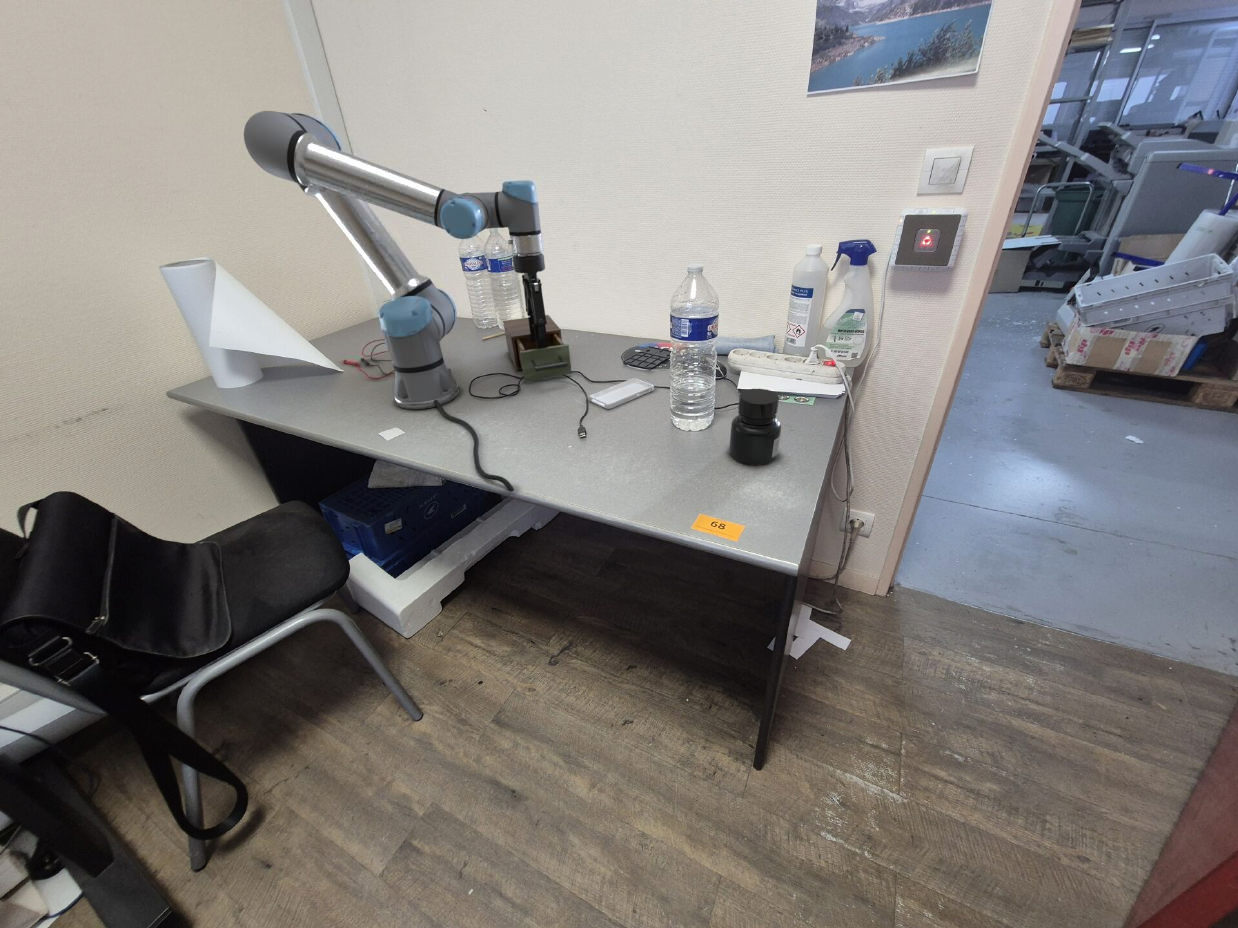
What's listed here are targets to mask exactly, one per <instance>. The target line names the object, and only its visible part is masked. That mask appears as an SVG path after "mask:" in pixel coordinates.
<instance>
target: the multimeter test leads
mask: <svg viewBox="0 0 1238 928" xmlns="http://www.w3.org/2000/svg"><path fill="white" fill-rule="evenodd" d="M381 341H385V338H382V339H376V340H373V341H370V342H368V343H367V344H365V346H364V347H363V348H362V351H361V355H362V356H363V357H367V358H368V357H369V358H370V359H371V361H373V362H392V360H391V359H377V360H376V359H373V356H378V355H380V354H385V353H389V350H388V351H387V350H385V351H381V352H377V353H374V354H373V352H374V351H375V349H376V348H377V347H379V346H380V345H385V344H386V342H381ZM375 342H381V343H378V344H376V345H375V346H374V347H373V348H372V350H371V353H370V355H365V354H364V350H365V349H366V347H368V346H369V345H370V344H372V343H375ZM363 357H360V361H361V362H363V364H365V366H367V367H378V368H379V370H380V372H381V373H382V374H383V376H380V377H372V376H370V375H368V374H367V373H366V371H364V370H362V369H360V366H361V365H360V364H359V362H356V361H355V362H354V361H350V360H347V359H343V360H339V361H340V362H343V363H344V364H349V365H353V366H356V367H358V370H359V371H360V372H362V373H363V374H364V375H366V377H368V378H369V379H371V380H380V379H383V378H385V377H387V376H390V375H395V370H394V369H393V370H392V371H390V372H388V373H385V372H384V371H383V370H382V368H381V367H380V365H379V364H370V362H368V361H367V360H366V359H365V358H363Z"/></svg>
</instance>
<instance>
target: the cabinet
mask: <svg viewBox="0 0 1238 928" xmlns="http://www.w3.org/2000/svg"><path fill="white" fill-rule="evenodd" d="M545 316H546V321H547V324H546V325H545V326H546V335H547V334H554V333H556V334H557V336H558V337H559V338H560V339H561V341H562V342H563V339H562V330H561V328H560V327H559V326H558V324H557V323H556V322H555V321H554V320H553V319H552V317H551V316H550V315H549V314H545ZM541 320H542V319H541ZM502 323H503V330H504V335H505V340H506V341H505V342H506V346H507V352H508V355H509V356H510V359H511V361H512V364H513V366H514V368H515V370H516V371H517V372H518V371H523V369H522V367H521V365H520V363H519V361H518V356H517V349H516V343H515V339H520V338H527V337H531V335H530V328H529V320H528V317H522V318H515V319H507V320H503V321H502Z"/></svg>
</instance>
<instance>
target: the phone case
mask: <svg viewBox="0 0 1238 928" xmlns="http://www.w3.org/2000/svg"><path fill="white" fill-rule="evenodd" d="M654 387H655V386H654V384H652V383H650V382H647V381H644V380H641V379H639V378H635V377H634V378H630V379H628V380H625V381H623V382H620V383H618V384H615V385H612V386H610V387H607V388H605V389H602V390H600V391H597V392H594V393H592V394H590V395H589V398H588V399H589V402H591V403H593V404H595V405H597V406H600V407H602V408H603V409H606V410H612V409H614V408H616V407H619V406H621V405H623V404H625V403H628V402H630V401H633V400H635V399H638V398H640V397H642V396H644V395H647V394H649V393H651V392H653V391H654V390H655V388H654Z"/></svg>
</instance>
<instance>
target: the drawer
mask: <svg viewBox="0 0 1238 928" xmlns="http://www.w3.org/2000/svg"><path fill="white" fill-rule="evenodd" d="M515 343H516V349H517V356H518V361H519V363H520V365H521V367H522V369H523V370H522V374H523V380H524V382H529V381H530V382H531V381H532V382H533V381H537V380H544V379H549V378H555V377H561V376H567V375H572V365H571V364H572V363H571V356H570V355H571V353H570V346H569V344H568V343H564V342H563V340H562V341H561V339H560V338H559V337H558V336H557V334H556V333H554V334H547V343H548V347H544V348H538V349H537V344H536V342H531V337H527V338H520V339H515Z"/></svg>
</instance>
